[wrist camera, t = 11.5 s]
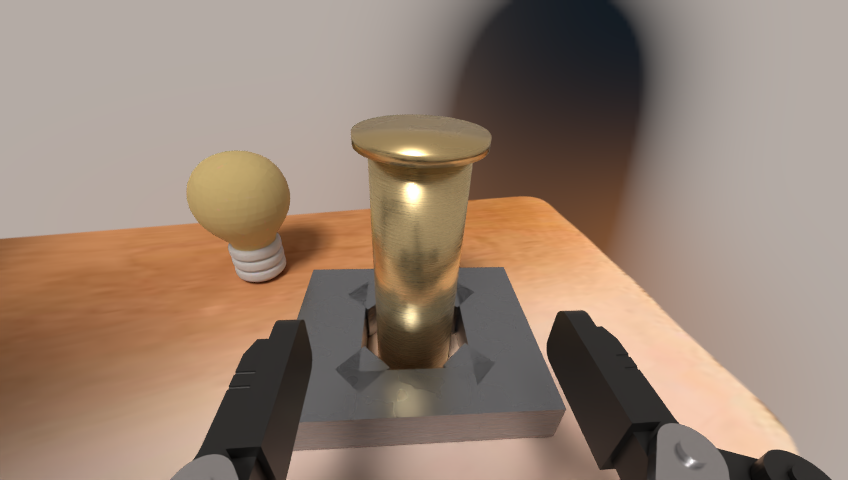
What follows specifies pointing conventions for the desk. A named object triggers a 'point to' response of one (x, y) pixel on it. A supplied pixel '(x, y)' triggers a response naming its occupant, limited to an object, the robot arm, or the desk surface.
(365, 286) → the jig
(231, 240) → the light bulb
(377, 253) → the rivet
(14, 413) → the desk surface
